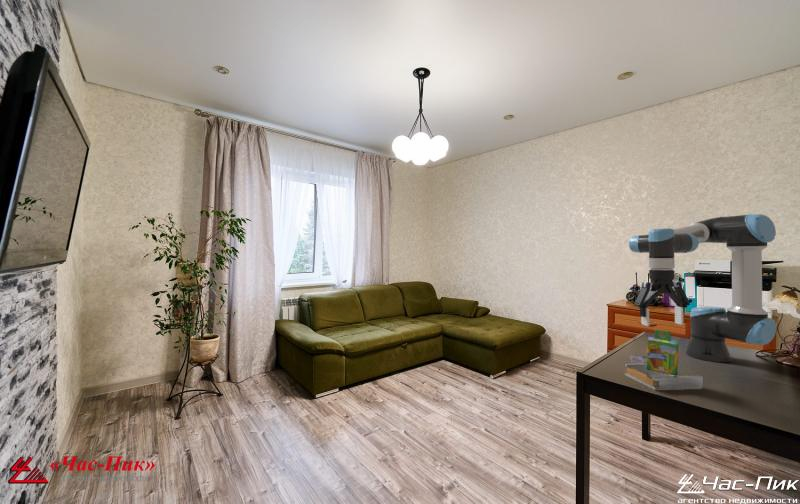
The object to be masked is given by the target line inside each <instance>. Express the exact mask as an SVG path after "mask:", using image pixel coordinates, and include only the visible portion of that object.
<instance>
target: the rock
mask: <svg viewBox="0 0 800 504" xmlns="http://www.w3.org/2000/svg"><path fill="white" fill-rule="evenodd" d="M629 361H630V364H636V363H647V355H636V354H631V355H630V356H629Z"/></svg>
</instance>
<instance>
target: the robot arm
mask: <svg viewBox="0 0 800 504" xmlns="http://www.w3.org/2000/svg"><path fill="white" fill-rule="evenodd" d="M776 235H777V233H776V226H775V224H774V222H773V220H772V219H771V218H770V217H769V216H768V215H764V214H762V213H761V214H760V213H759V214H757V213H756V214H754V213H753V214H751V213H749V214H743V215H742V214H741V215H732V216H731V215H730V216H720V217H719V216H718V217H713V218H709V219H704V220H700V221H696V222H692V223H689V224H688V225H687V226H683V227H679V228H672V227H671V228H652V229H650V230H649V231H648V234H639V235H633V236H631V237H630V238H629V241H628V247H629V249H630V251H631V252H633V253H638V254H642V253H648V268H650V269H649V270H648V279H650V282H648V281H642V284H641V288H640V291H639V293H638V295H637V297H636V299H635V301H634V307H637V308H639V316H640V317H641V319H640V320H641V325H643V326H646V327H650V309H649V308H648V307H649V306H650V305H651V303H652V302H653V300H655V298H656V297H657V296H658V295H659V294H660V295H663V294H667V295H668V297H669V298H670V299H671V301H672V302H674V304H675V305H676V306H674V324H677V325H681V326H682V325H684V316H685V309H686V308H688V306H690V305H691V303H690V300H689V298H688V297H687V294H686V292H685V290H684V288H683V284H682V281H679V280H675V278H676V275H675V273H676V272H675V267H676V266H675V265H676V264H675V254H687V253H692V252H694V251H695V250H697V249H698V247H699V244H702V243H705V244H706V243H707V244H708V243H709V244H712V243H713V244H726V248H727V249H729V250H730V251H731V305H730V307H728V308H727V310H726V308H724V307H719V306H718V307H714V306H704V307H703V306H700V307H693V308H692V309H691V310H690V316H689V317H690V338H689V341H688V343H687V346H686V348H685V354H686V355H687V356H688V357H692V358H695V359H699V360H703V361H709V362H714V363H715V362H716V363H729V362H731V361H732V354H731V353H730V352H729V348H728V345H727V344H726V339H727V340H733V341H737V342H741V343H745V344H747V345H757V346H766V345H768V344H769V343H770V342H772V340H773V339H774V338H775V335H776V333H777V332H776V331H777V323H776V320H775V319H773V318H770V317H769V313H768V311H766V310H765V309H764V308H763V261H762V260H763V255H762V254H763V252H762V251H763V250H765V249H766V248H768V243H770V242H773V241H774V240H775V237H776Z"/></svg>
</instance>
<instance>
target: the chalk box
mask: <svg viewBox="0 0 800 504" xmlns="http://www.w3.org/2000/svg"><path fill="white" fill-rule="evenodd" d="M661 334H663V335H666V336H665V337H662V336H660V335H661ZM671 335H672V333H671V331H667V330H660V329H655V330H654V335H648V338H647V341H646V356H647V366H646V369H647V370H651V371H656V372H661V373H666V374H670V375H675V376H679V371H678V369H679V366H678V365H679V347H680V346H679V340H678V339H674V338H672V336H671Z"/></svg>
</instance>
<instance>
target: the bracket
mask: <svg viewBox="0 0 800 504" xmlns="http://www.w3.org/2000/svg"><path fill="white" fill-rule="evenodd" d="M646 366H647V363H636V364H631V363H625V364H624V375H625V376H626V377H628V378H630V379H632V380H634V381H636V382H637V383H640V384H641V385H644V386H645V387H648V388H650V389H651V390H653V391H673V390H674V391H680V390H681V391H682V390H703V383H704V382H703V377H704V376H702V375H697V374H695V375H678V376H675V375H670V374H666V373H661V372H656V371H651V370H647V369H646Z"/></svg>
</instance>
